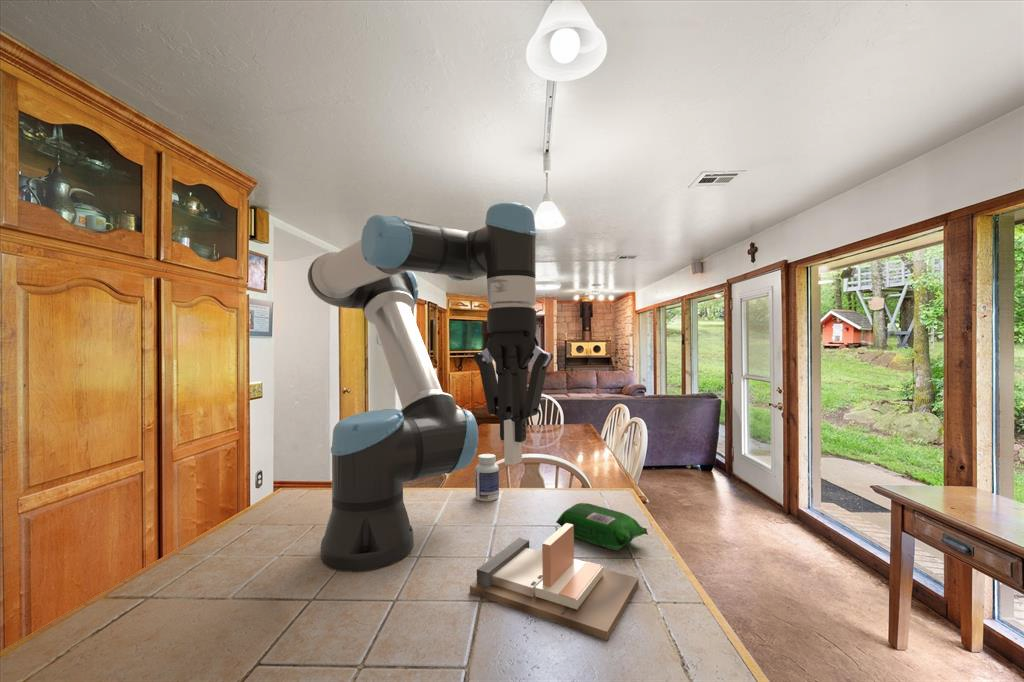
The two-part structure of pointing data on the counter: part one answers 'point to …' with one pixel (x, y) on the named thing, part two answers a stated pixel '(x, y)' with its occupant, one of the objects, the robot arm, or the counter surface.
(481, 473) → the pill bottle
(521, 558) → the wooden base board
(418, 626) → the counter surface
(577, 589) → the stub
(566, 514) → the snack package
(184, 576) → the counter surface
